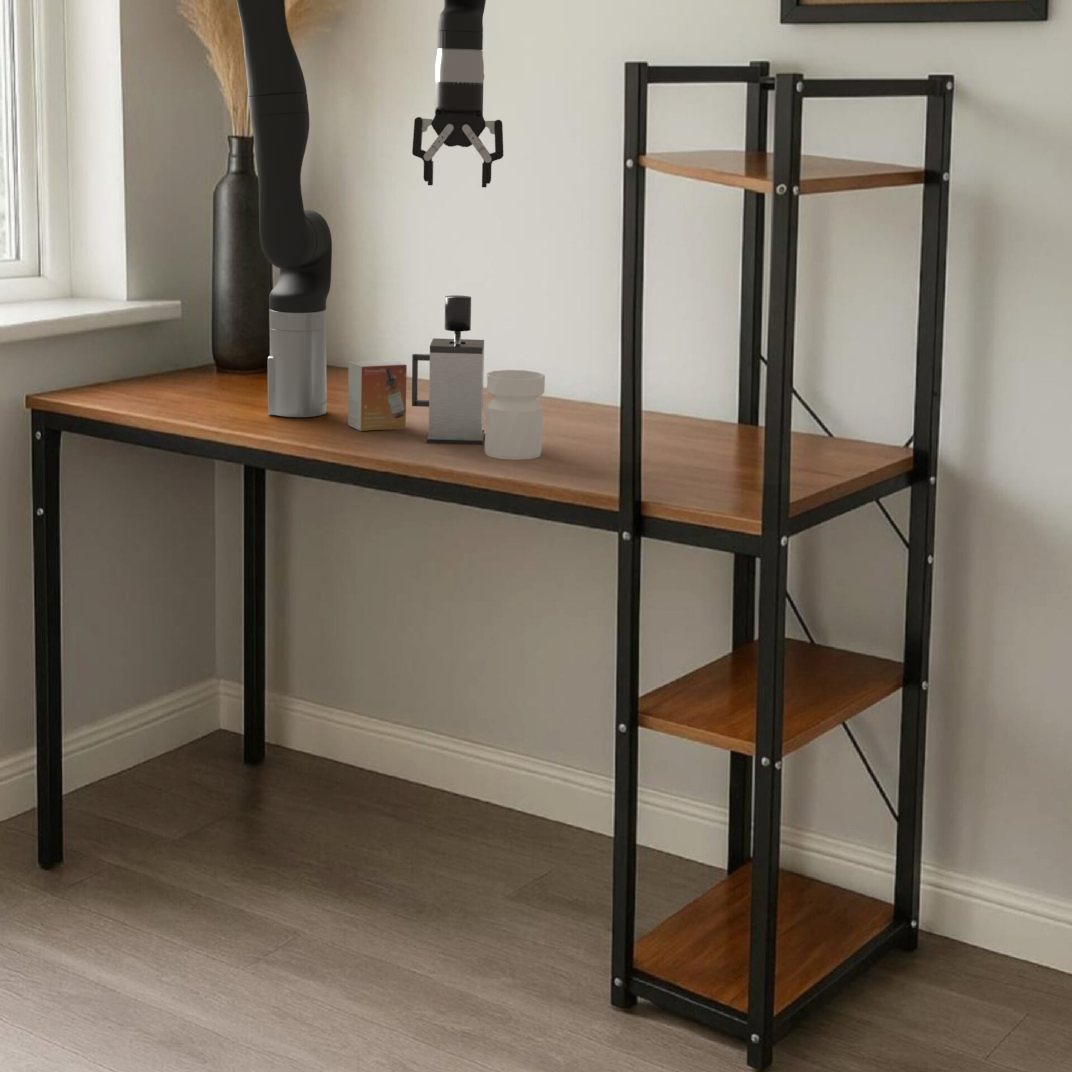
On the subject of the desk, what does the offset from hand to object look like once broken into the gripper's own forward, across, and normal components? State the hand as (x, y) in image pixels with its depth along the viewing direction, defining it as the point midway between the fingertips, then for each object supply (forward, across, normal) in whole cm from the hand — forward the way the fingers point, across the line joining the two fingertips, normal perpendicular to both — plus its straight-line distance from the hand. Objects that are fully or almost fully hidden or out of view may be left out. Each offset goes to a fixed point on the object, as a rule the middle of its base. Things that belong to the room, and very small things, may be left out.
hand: (457, 186), depth 266 cm
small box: (+38, -12, -6) cm, 41 cm away
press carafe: (+38, 0, -13) cm, 40 cm away
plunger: (+37, +1, -13) cm, 39 cm away
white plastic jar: (+38, +10, -23) cm, 46 cm away
